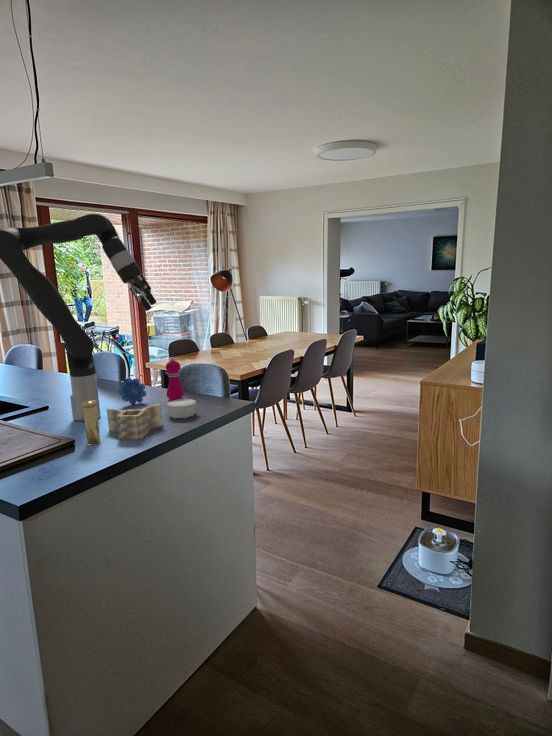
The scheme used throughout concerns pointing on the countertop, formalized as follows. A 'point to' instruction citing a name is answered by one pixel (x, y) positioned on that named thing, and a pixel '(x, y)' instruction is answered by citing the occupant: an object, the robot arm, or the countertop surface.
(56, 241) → the robot arm
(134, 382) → the grapes
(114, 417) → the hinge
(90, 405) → the brass peg
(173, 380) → the pepper mill
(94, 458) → the countertop surface
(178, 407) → the ramekin
